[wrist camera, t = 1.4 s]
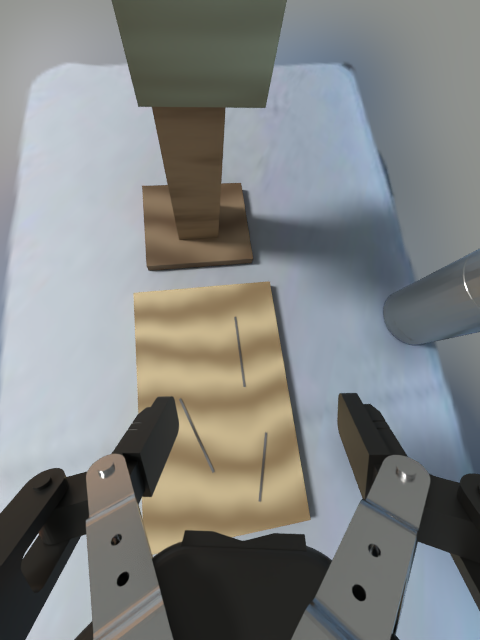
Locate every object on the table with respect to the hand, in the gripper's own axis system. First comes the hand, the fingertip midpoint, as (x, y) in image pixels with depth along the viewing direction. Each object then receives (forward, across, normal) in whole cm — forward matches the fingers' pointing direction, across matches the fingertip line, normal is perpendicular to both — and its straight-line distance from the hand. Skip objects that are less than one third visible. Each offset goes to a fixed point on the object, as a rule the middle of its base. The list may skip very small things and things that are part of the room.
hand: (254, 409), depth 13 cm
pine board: (+20, +7, +14) cm, 25 cm away
